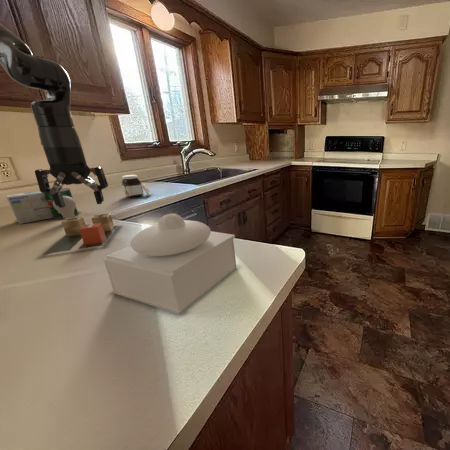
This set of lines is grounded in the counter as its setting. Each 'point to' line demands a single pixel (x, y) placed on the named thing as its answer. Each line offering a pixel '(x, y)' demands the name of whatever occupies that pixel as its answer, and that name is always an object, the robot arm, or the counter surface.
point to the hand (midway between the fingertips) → (81, 205)
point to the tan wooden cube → (73, 225)
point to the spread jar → (133, 186)
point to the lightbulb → (66, 207)
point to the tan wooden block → (104, 221)
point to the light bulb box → (29, 206)
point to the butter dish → (171, 263)
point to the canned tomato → (50, 200)
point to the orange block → (92, 233)
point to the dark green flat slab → (74, 243)
